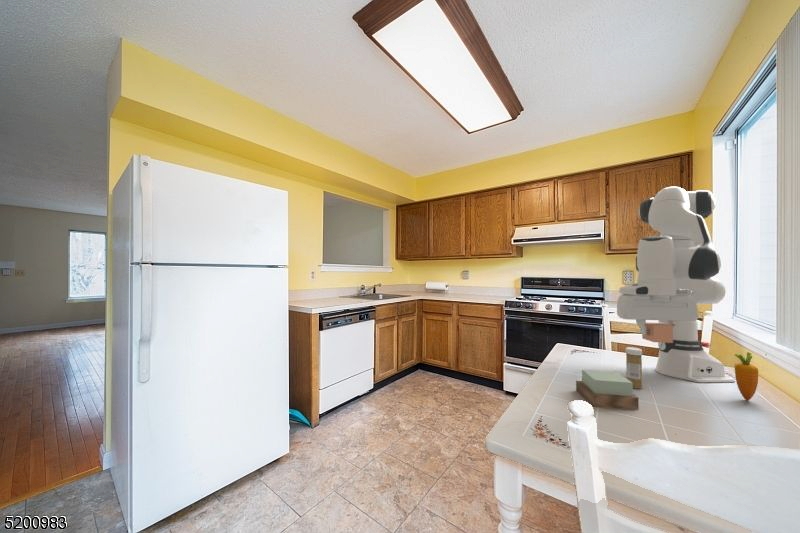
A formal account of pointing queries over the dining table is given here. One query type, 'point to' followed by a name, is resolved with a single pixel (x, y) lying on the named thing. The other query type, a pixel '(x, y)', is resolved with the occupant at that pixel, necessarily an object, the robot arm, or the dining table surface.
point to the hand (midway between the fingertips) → (656, 335)
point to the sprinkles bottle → (634, 366)
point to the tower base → (606, 398)
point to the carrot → (746, 376)
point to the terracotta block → (659, 332)
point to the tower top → (607, 382)
